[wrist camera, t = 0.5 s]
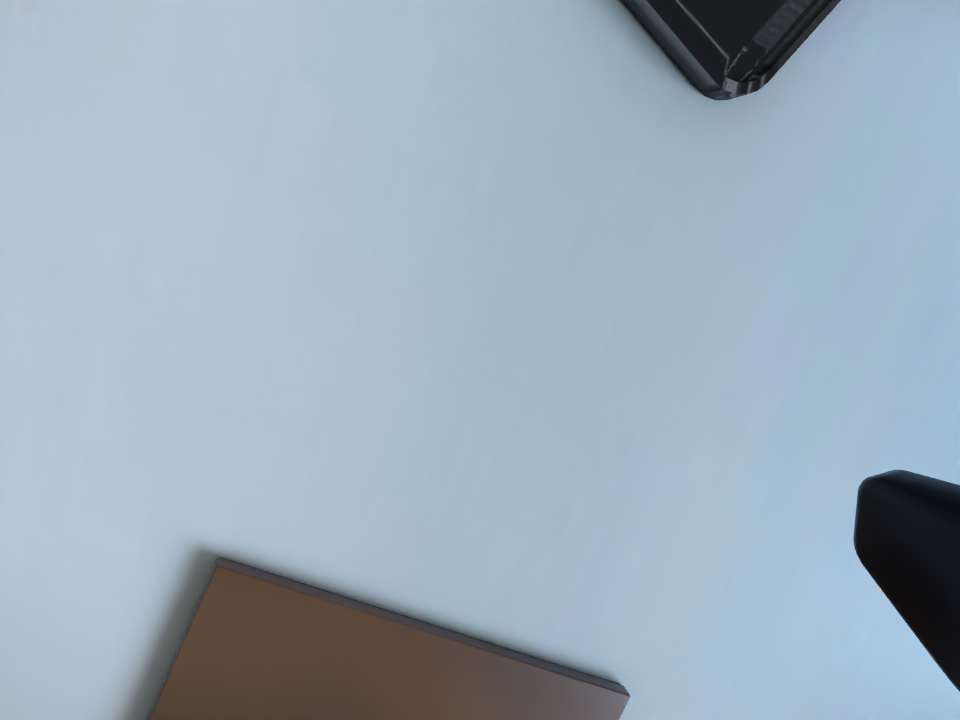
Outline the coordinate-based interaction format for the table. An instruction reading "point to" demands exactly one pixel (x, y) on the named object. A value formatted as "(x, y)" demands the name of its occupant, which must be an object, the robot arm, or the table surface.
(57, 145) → the table surface
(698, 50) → the phone
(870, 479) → the robot arm
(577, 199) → the table surface
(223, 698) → the coaster board
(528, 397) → the table surface
